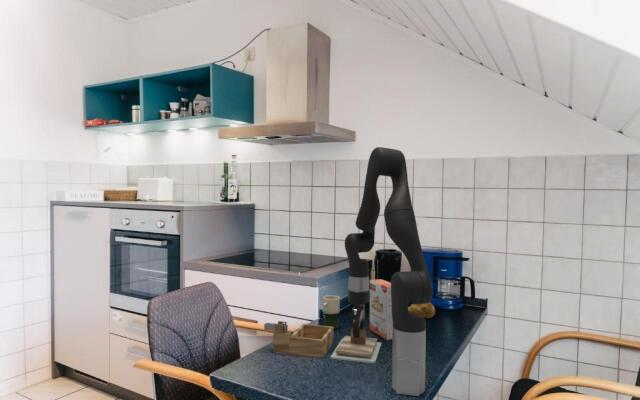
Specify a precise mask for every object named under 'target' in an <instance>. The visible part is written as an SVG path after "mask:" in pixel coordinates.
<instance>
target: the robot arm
mask: <svg viewBox="0 0 640 400" xmlns="http://www.w3.org/2000/svg"><path fill="white" fill-rule="evenodd" d="M406 162H407V161H406V157H405V154H404V152H402V151H401V150H399V149H395V148H388V147H383V146H377V147H375V148H373V150H372V151H371V153H370V155H369V158H368V162H367V168H366V174H365V181H364V185H363V186H364V187H363V193H362V194H363V195H362V199H361V203H360V207H359V209H358V213H357V216H356V220H355V226H356V228H357V229H359V230H360V231H362V232H357V233H356V232H353V233H352V232H351V233H349V234H347V235H346V237H345V239H344V249H345V251H346V253H345V254H346V257H347V262H348V265H349V268H348V269H349V270H348V271H349V272H348V282H347V283H348V286H347V288H348V289H347V294H348V295H347V301H348V303H350V304H351V303H352V304H353V307H352V309H351V327H352V328H353V337H354V338H359V336H360V329H364V320H365V317H366V313H365V312H366V311H365V310H366V307H365V306H366V305H365V304H367V303H368V304H369V303H370V278H369V277H370V276H369V275H370V271H369V269H370V265H369V264H370V263H369V261H368V260H367V259H364V258H360V255H359V253H362V254H363V253H368V252H371V250H372V249H373V247H374V246H375V234H376V225H377V222H378V219H379V217H380V213H381V203H380V199H379V194H378V189H377V184H378V180H379V177H382V176H383V177H390V180H391V183H392V185H391V186H392V191H391V194H390V197H389V198H388V201H387V202H386V205H385V207H384V211H383V216H384V217H383V218H384V223H385V227H386V228H385V230H386V233H387V236H389V239H390V240H391V241H392V242H393V243H394V245H396V247H397V248H398V249H399V250H400V251H401V252H402V254H403V255H404V256H405V258H406V259H407V263H408V265H409V267H410V271H408V270H407V271H396V272H394V273H393V275H392V276H391V280H390V283H391V301H392V319H393V340H392V348H391V349H392V355H391V357H392V359H391V361H392V362H391V363H392V365H391V367H392V369H391V375H392V376H391V380H392V381H391V387H392V389H393V390H394V391H395V392H396V394H397V395H398V394H399V395H406V396H415V397H420V395H422V394H423V393H425V391H426V345H427V344H426V343H427V342H426V338H427V335H426V333H427V332H426V330H427V327H426V326H427V321H426V318H423V317H421V316H419V315H416V314H413V313H410V312H409V311H408V307H409V305H411V304H425V303H428V302H430V303H431V301H432V298H433V293H434V292H433V291H434V290H433V284H432V279H431V275H430V273H429V269H428V266H427V263H426V258H425V257H424V256H425V255H424V252H423V249H422V245H421V240H420V235H419V231H418V225H417V220H416V216H415V211H414V207H413V203H412V202H413V201H412V198H411V193H410V187H409V177H408V170H407V169H408V167H407V163H406Z"/></svg>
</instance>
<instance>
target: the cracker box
mask: <svg viewBox="0 0 640 400" xmlns="http://www.w3.org/2000/svg"><path fill="white" fill-rule="evenodd" d="M369 330H370V331H371V332H372V333H374V334H376V335H378V336H379V337H380V338H382V339H383V340H385V341H391V340H392V341H393V319H392V301H391V281H387V280H384V279H382V278H381V279H380V278H379V279H369Z"/></svg>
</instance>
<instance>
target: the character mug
mask: <svg viewBox="0 0 640 400" xmlns="http://www.w3.org/2000/svg"><path fill="white" fill-rule="evenodd" d="M340 299H341V297H340V296H339V295H332V294H331V295H324V296H322V312H323V313H324V319H323V326H331V327H334V329H335V330H336V329H338V328H339V319H338V314H339V313H340V310H341V309H340V307H341V306H340V302H341V301H340Z"/></svg>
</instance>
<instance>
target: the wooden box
mask: <svg viewBox="0 0 640 400" xmlns="http://www.w3.org/2000/svg"><path fill="white" fill-rule="evenodd" d="M282 322H284V321H281V320H277V323H274V324H275V331H272V332H273V333H272V352H273V351H274V352H279V353H286V354H285V355H288V354H291V356H297V355H298V357H306V358H307V357H308V358H317V359H324V357H326V355H327V353H328V352H329V351H330V348H331V347H332V346H333V344H334V339H335V338H334V333H335V331H334V327H331V326H324V325H319V324H317V325H316V324H308V323H302V324H301V325H300V326H299V327H298V328H297V329H296V330H295V331H294V330H290V329H289V330H287V331H286V332H283V324H282ZM285 322H286V325H288V324H287V321H285ZM279 353H278V354H279Z"/></svg>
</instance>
